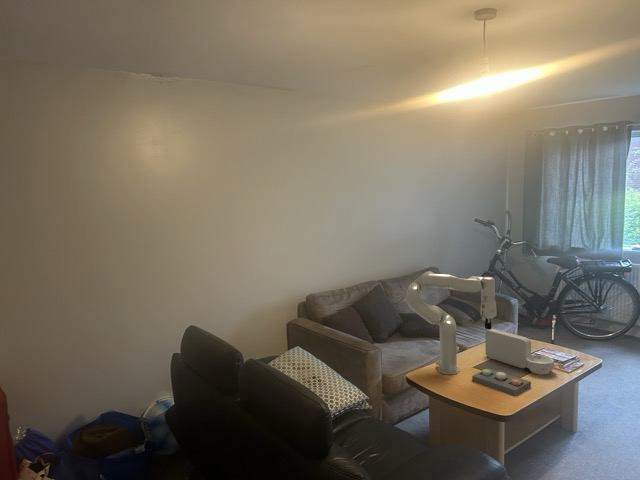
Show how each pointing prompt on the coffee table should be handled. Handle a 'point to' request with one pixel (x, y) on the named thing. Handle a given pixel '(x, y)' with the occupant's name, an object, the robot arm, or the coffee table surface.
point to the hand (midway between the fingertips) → (488, 328)
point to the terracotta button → (516, 382)
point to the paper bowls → (539, 364)
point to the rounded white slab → (507, 347)
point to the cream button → (500, 375)
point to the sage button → (486, 372)
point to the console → (501, 382)
